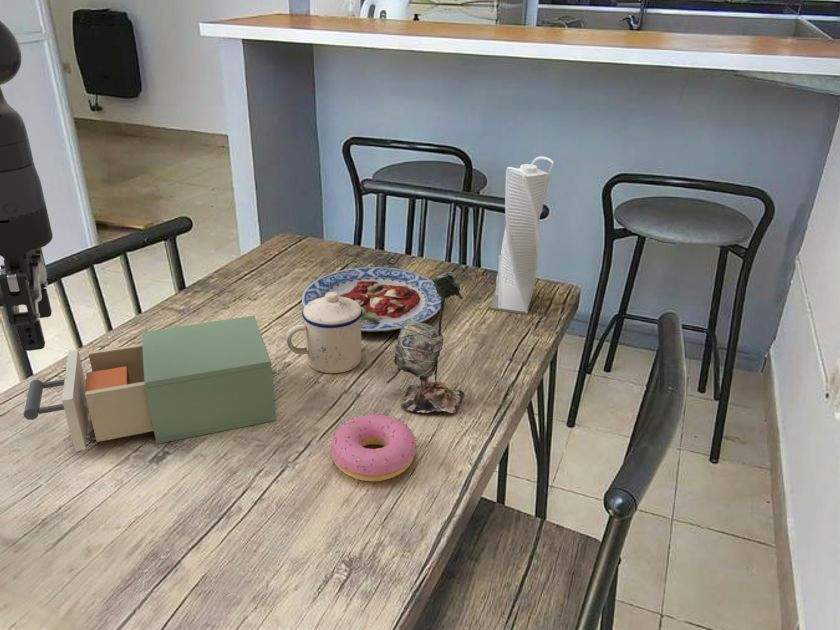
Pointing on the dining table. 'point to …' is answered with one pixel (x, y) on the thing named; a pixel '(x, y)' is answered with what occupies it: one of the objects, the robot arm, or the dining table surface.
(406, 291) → the ceramic plate
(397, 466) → the doughnut
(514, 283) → the skyscraper
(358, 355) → the teacup with lid
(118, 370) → the block
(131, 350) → the drawer
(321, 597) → the dining table surface
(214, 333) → the cabinet
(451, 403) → the stone figurine
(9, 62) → the robot arm
